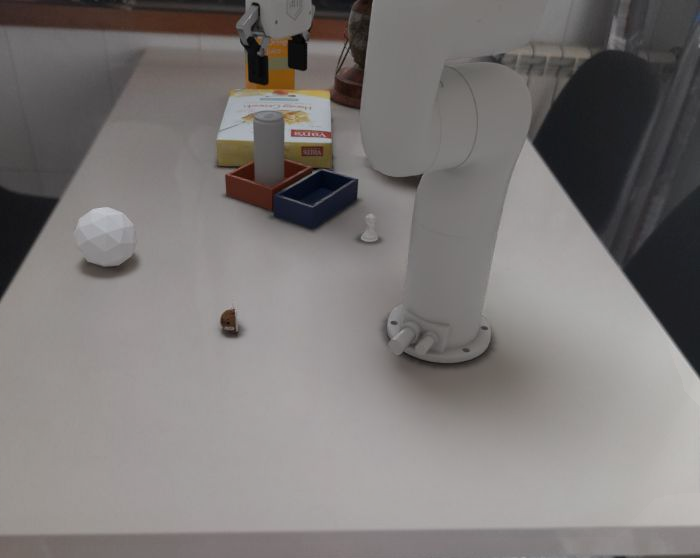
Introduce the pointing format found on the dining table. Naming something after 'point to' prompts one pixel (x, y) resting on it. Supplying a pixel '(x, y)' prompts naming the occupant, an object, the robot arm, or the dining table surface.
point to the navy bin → (315, 198)
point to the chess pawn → (369, 230)
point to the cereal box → (300, 125)
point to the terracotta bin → (248, 190)
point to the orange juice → (275, 67)
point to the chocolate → (229, 320)
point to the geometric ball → (105, 237)
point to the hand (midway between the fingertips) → (278, 76)
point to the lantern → (351, 78)
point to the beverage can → (268, 147)
